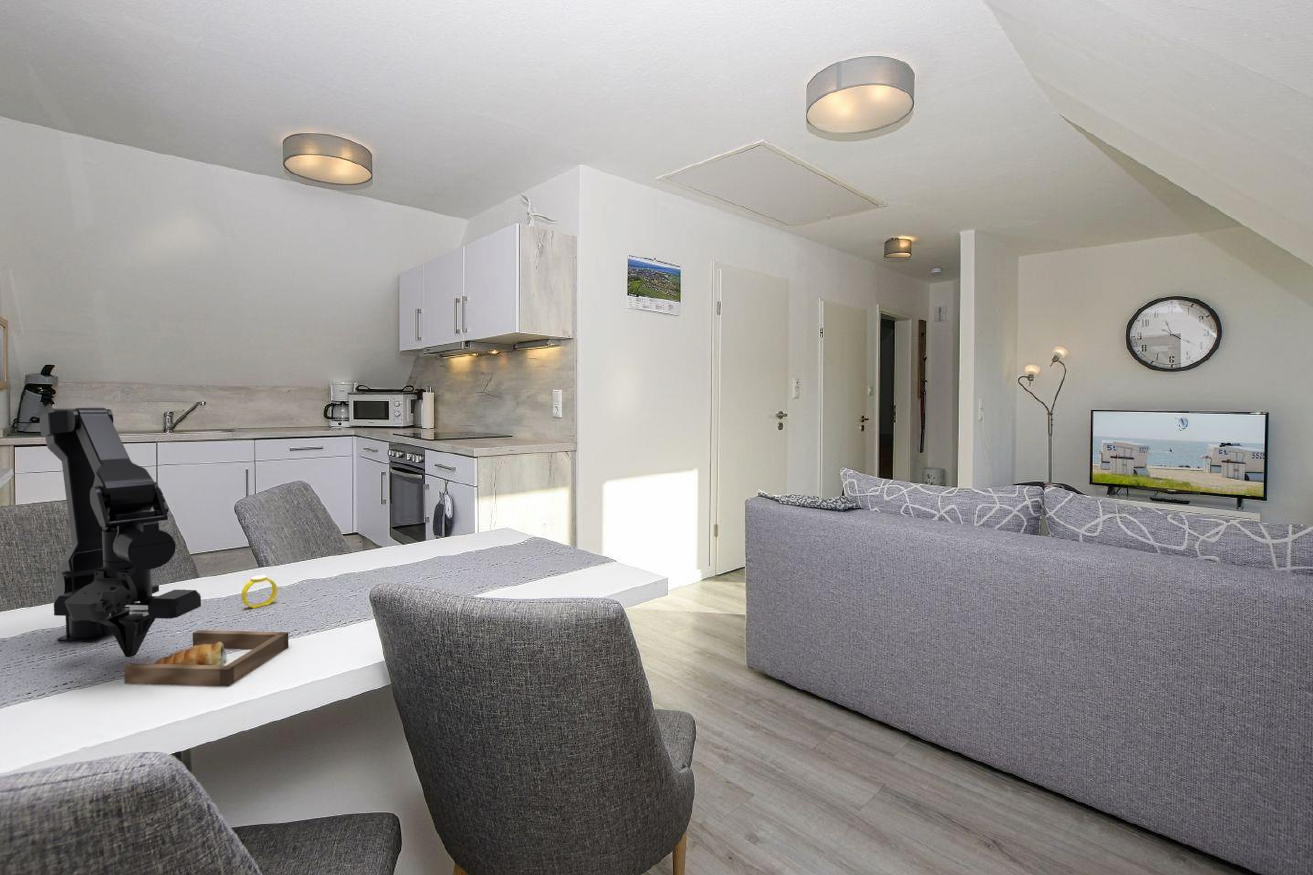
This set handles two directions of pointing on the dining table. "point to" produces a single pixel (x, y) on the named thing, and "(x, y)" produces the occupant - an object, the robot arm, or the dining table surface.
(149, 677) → the frame
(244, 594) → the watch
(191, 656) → the pastry
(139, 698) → the dining table surface
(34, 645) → the dining table surface
